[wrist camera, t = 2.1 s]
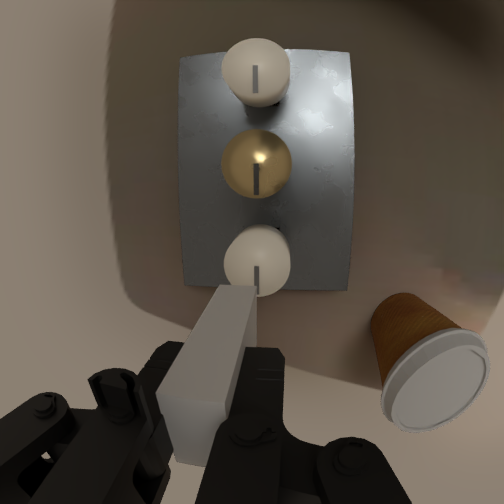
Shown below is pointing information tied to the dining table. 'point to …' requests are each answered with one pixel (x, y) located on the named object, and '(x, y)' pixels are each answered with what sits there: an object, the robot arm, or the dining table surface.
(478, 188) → the dining table surface
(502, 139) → the dining table surface
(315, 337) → the dining table surface
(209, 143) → the mount panel
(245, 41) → the knob
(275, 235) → the knob
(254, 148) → the brass pot knob
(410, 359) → the disposable coffee cup
